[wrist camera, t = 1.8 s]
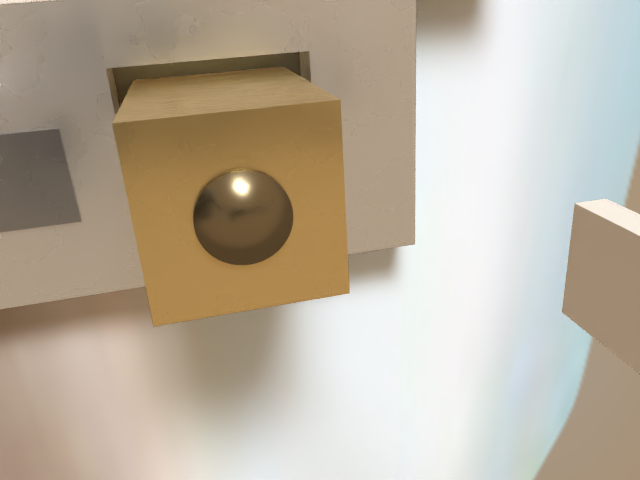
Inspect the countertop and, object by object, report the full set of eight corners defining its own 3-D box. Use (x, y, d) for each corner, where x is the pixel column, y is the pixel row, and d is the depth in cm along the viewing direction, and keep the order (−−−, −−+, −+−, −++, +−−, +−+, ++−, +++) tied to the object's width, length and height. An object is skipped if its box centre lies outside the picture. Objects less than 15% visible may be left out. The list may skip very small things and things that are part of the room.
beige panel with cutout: (-106, 304, 24) (-131, 330, 22) (-222, 19, 19) (-265, 21, 17) (399, 228, 28) (415, 245, 26) (397, -21, 23) (417, -23, 22)
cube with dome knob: (159, 221, 25) (153, 330, 17) (133, 79, 23) (111, 124, 14) (294, 203, 26) (351, 295, 18) (283, 66, 24) (342, 100, 16)
